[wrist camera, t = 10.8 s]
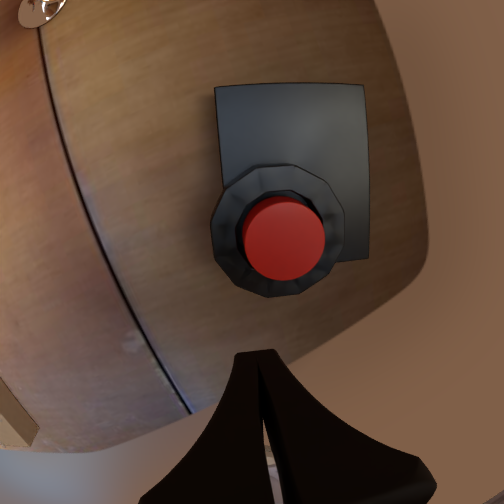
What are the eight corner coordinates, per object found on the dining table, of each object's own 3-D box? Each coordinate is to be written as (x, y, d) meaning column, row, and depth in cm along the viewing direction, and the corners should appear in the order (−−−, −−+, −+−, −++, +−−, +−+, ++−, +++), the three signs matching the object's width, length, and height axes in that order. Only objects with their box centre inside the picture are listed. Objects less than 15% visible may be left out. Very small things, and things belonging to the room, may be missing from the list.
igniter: (315, 263, 16) (325, 276, 15) (245, 270, 16) (247, 285, 14) (313, 192, 15) (324, 198, 13) (238, 199, 15) (240, 205, 13)
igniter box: (355, 258, 20) (381, 282, 16) (220, 273, 20) (219, 303, 16) (349, 90, 17) (378, 79, 13) (201, 95, 16) (195, 81, 13)
